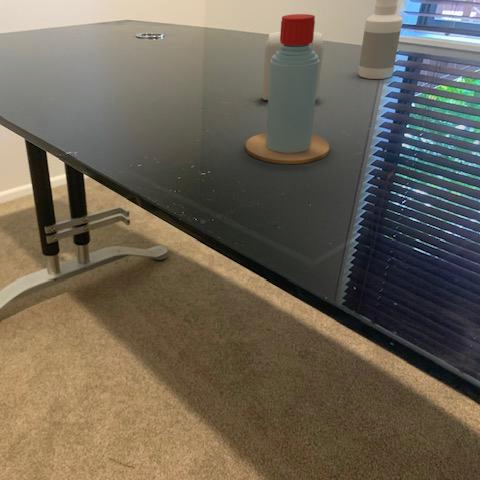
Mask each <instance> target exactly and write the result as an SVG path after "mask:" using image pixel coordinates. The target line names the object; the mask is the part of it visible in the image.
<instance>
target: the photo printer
mask: <svg viewBox="0 0 480 480" xmlns="http://www.w3.org/2000/svg"><path fill="white" fill-rule="evenodd" d="M280 33H281V30H279V31H275V32H272V33H270V34H268V38H267V41H266V43H265V48H264V62H263V63H264V64H263V78H262V79H263V81H262V94H261V95H262V97H261V98H262V99H263V100H264V101H268V95H269V77H270V61H271V59H272V56H273V55H275V54H276V52H277V51H279V49H280V48H281V47H283V44H281V43H280ZM309 47H311V48H312V50H313V51H315V54H316V55H318V59H319V60H320V62H319V71H318V81H317V90H316V100H315V101H317V100H318V97H319V89H320V82H321V72H322V65H323V57H324V56H323V55H324V50H325V49H324V39H323V34H322V33H320V32H318V31H315V30H314V36H313V41H312V43H310V44H309Z"/></svg>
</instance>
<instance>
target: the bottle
mask: <svg viewBox="0 0 480 480" xmlns="http://www.w3.org/2000/svg"><path fill="white" fill-rule="evenodd" d="M319 62H320V60H319V59H318V55H316V54H315V51H313V50H312V48H311V47H309V44H306V45H285V44H283V47H281V48H280V49H279V51H277V52H276V54H275V55H273V56H272V59H271V61H270V77H269V95H268V100H267V115H266V129H265V130H266V131H265V133H266V147H267V148H269V149H270V150H273V151H276V152H281V153H298V152H303V151H306V150H308V149H309V148H310V146H311V137H312V134H313V126H314V117H315V109H316V108H315V107H316V101H317V100H316V90H317V81H318V71H319Z"/></svg>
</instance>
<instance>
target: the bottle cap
mask: <svg viewBox="0 0 480 480" xmlns="http://www.w3.org/2000/svg"><path fill="white" fill-rule="evenodd" d="M315 17H316V15H314V14H306V13H295V14H287V15H282V16H281V21H280V31H281V33H280V43H281V44H285V45H306V44H310V43H312V41H313V36H314V31H315V25H316V18H315Z"/></svg>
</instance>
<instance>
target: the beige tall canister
mask: <svg viewBox="0 0 480 480" xmlns="http://www.w3.org/2000/svg"><path fill="white" fill-rule="evenodd" d="M398 3H399V0H376V1H375V4H374V5H375V6H374V12H373V14H371V15H370V16H368V17H367V18H366V19H365V24H364V28H363V29H364V30H363V37H362V42H361V43H362V45H361V51H360V58H359V64H358V65H359V66H358V70H357V71H358V72H357V75H358V76H359V77H361V78H364V79H369V80H385V79H389V78H391V77H393V74H394V68H395V64H396V59H397V53H398V47H399V42H400V38H401V37H400V36H401V30H402V25H403V18H402V17H401V16H400V15H398V13H397V12H398V11H397V10H398Z"/></svg>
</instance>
